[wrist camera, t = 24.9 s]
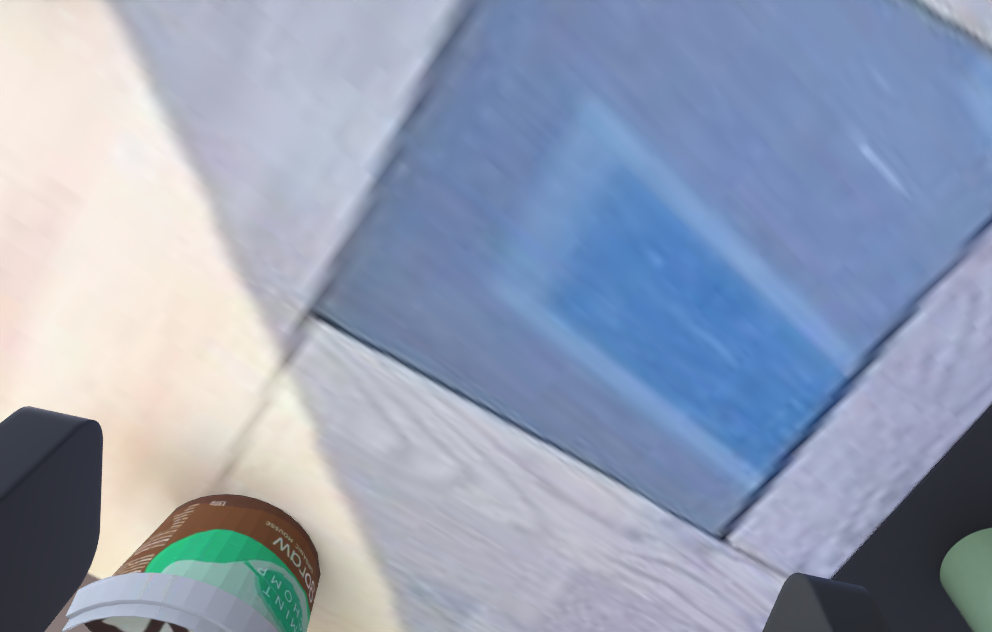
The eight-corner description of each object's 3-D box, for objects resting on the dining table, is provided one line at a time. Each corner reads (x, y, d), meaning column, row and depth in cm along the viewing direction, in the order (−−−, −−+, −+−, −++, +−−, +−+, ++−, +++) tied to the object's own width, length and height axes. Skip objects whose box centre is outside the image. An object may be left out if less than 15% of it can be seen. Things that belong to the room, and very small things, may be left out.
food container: (387, 593, 45) (347, 748, 36) (305, 639, 46) (246, 799, 37) (241, 433, 42) (154, 558, 32) (157, 488, 43) (52, 623, 34)
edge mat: (1096, 290, 36) (1099, 291, 36) (1259, 391, 38) (1263, 392, 38) (733, 685, 46) (734, 688, 46) (873, 754, 47) (874, 757, 47)
